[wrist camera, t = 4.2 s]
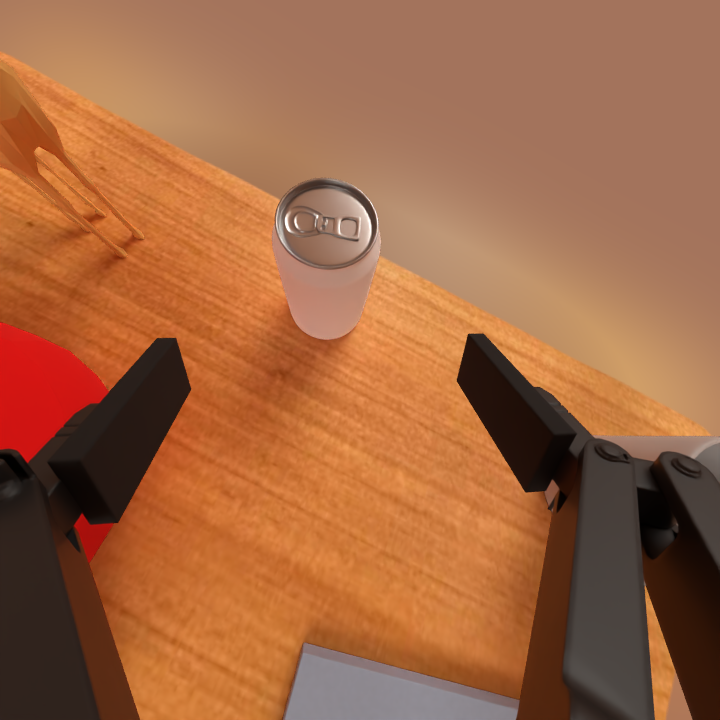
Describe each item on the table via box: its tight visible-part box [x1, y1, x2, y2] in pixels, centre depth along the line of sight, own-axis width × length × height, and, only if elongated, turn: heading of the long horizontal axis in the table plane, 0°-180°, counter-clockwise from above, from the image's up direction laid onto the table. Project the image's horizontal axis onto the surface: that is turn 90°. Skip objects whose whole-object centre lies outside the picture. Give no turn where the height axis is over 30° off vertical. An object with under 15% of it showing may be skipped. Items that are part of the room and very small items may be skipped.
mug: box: [544, 435, 720, 586], centre depth 22 cm, size 12×8×11 cm
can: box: [272, 178, 381, 340], centre depth 23 cm, size 6×6×12 cm
